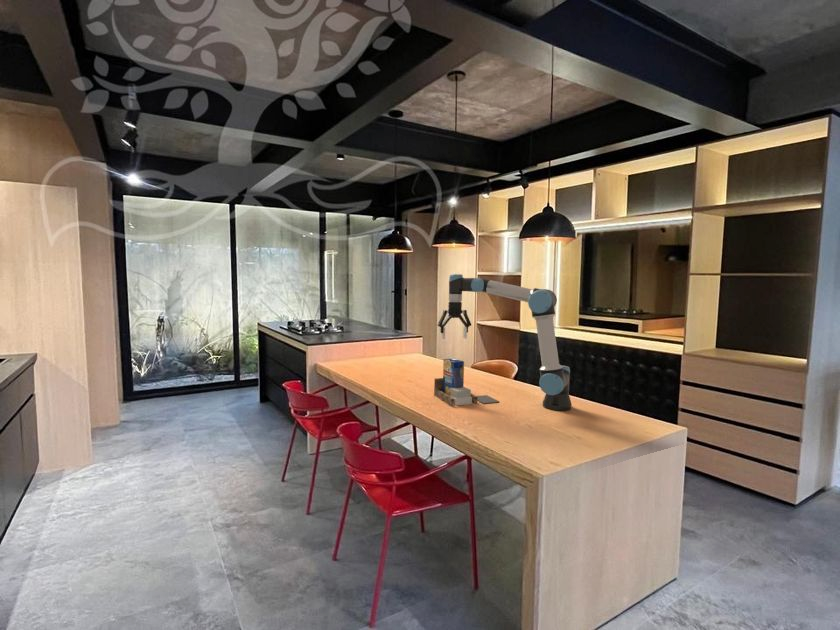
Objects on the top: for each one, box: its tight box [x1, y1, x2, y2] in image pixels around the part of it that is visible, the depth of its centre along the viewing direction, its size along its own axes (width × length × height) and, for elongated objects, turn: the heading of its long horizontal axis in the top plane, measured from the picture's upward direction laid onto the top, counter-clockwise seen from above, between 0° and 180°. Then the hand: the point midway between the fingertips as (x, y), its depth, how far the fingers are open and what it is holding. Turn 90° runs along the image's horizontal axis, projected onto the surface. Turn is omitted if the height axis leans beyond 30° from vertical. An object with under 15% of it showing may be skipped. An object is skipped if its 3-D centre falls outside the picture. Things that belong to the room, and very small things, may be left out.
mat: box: [476, 394, 500, 405], centre depth 260 cm, size 14×10×1 cm
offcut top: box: [451, 386, 472, 399], centre depth 253 cm, size 6×9×4 cm, turn 119°
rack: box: [433, 377, 479, 407], centre depth 259 cm, size 24×16×10 cm
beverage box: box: [442, 357, 465, 396], centre depth 262 cm, size 7×11×22 cm, turn 31°
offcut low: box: [450, 395, 473, 406], centre depth 253 cm, size 7×10×4 cm
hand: (454, 338), depth 260 cm, fingers open, 13 cm apart
